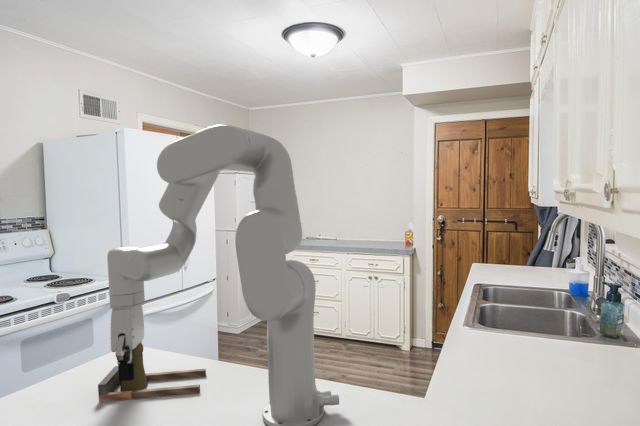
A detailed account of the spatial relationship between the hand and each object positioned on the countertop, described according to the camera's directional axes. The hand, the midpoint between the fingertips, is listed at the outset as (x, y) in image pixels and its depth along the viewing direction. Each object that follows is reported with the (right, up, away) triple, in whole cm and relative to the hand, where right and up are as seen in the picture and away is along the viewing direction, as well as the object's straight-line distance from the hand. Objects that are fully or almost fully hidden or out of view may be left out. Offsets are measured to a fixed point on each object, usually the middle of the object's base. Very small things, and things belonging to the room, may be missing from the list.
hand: (131, 373), depth 98 cm
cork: (0, -4, +1) cm, 4 cm away
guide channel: (+6, -4, +1) cm, 7 cm away
